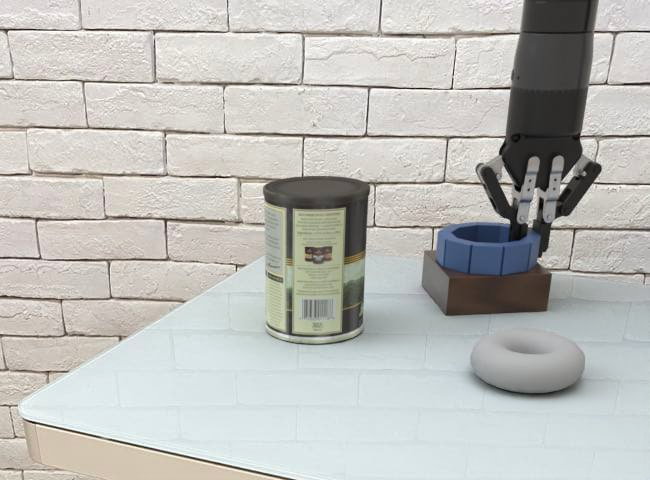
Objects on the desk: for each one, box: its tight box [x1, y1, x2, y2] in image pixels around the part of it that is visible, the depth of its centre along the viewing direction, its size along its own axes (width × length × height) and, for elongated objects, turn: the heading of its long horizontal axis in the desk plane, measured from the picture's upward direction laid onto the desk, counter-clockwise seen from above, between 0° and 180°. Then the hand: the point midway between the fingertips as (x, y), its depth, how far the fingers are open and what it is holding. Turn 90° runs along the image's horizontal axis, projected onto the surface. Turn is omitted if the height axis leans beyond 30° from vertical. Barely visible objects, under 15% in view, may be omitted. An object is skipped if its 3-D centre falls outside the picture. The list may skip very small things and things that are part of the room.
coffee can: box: [262, 175, 371, 345], centre depth 96 cm, size 10×10×14 cm
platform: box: [421, 249, 553, 316], centre depth 106 cm, size 11×11×4 cm
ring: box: [435, 221, 541, 275], centre depth 104 cm, size 10×11×3 cm
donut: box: [469, 328, 586, 394], centre depth 86 cm, size 10×4×10 cm
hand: (526, 255), depth 105 cm, fingers closed on ring, 1 cm apart
